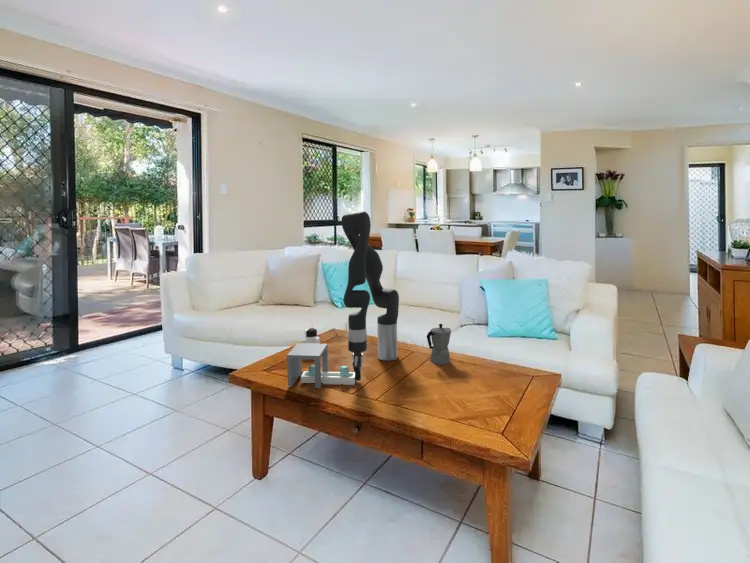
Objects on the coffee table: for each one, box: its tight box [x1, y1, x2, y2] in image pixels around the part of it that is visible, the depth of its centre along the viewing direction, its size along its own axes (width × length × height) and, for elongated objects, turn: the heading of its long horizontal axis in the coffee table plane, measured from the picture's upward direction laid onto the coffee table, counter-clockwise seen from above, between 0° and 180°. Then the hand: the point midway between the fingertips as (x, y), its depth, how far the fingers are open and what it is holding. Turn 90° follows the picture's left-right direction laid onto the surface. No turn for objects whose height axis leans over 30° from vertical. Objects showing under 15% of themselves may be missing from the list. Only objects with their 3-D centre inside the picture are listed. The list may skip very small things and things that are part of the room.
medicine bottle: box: [301, 327, 321, 344], centre depth 221 cm, size 7×7×12 cm
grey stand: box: [286, 342, 329, 389], centre depth 185 cm, size 13×16×14 cm
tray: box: [300, 364, 357, 386], centre depth 184 cm, size 22×6×6 cm, turn 85°
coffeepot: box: [426, 323, 452, 366], centre depth 206 cm, size 15×9×18 cm, turn 129°
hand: (358, 379), depth 184 cm, fingers closed
